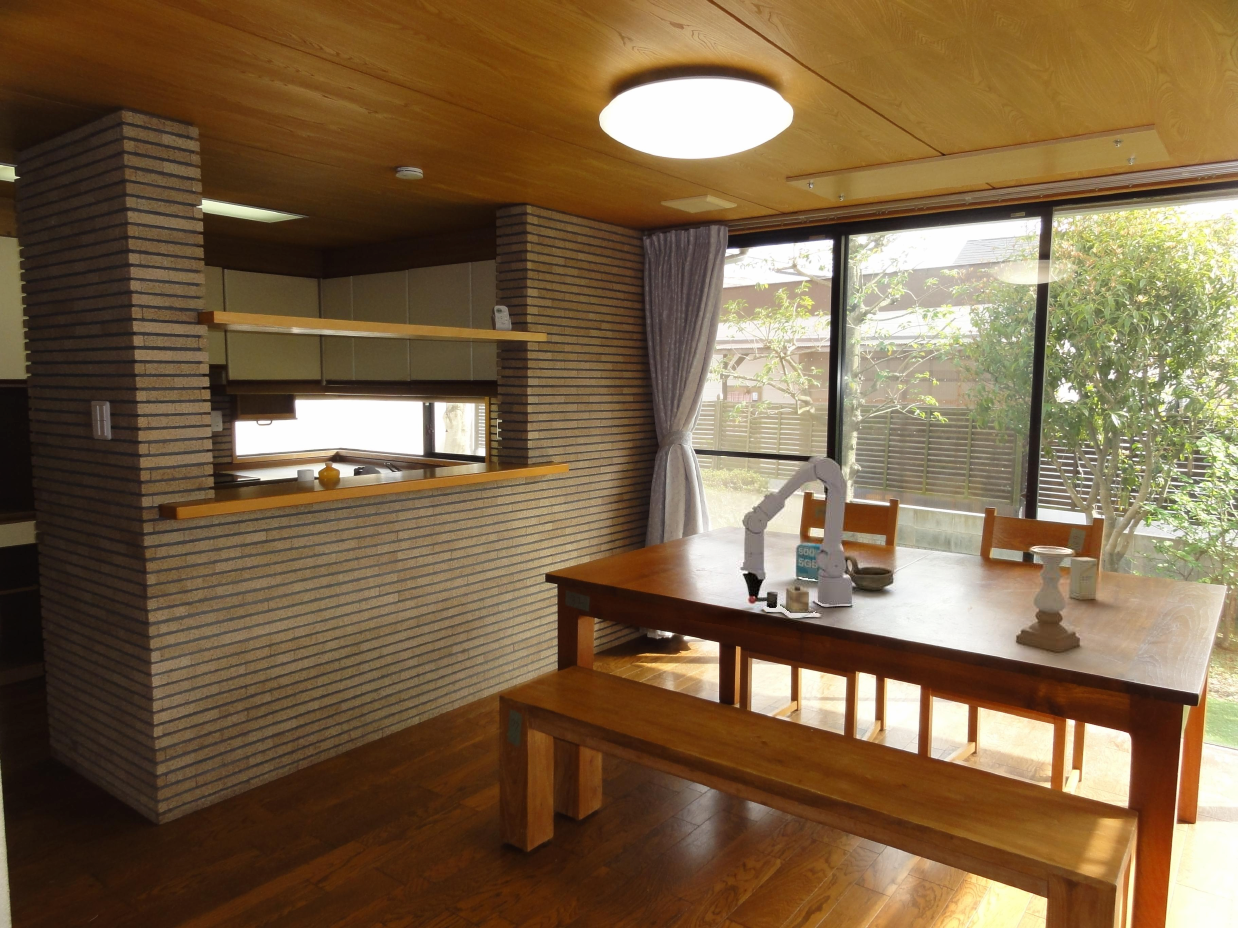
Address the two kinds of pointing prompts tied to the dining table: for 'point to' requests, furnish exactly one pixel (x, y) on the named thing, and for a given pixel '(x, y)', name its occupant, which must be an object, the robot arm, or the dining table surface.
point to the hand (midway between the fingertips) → (753, 597)
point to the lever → (766, 599)
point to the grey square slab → (798, 610)
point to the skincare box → (1083, 578)
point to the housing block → (797, 598)
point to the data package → (807, 560)
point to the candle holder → (1049, 605)
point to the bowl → (868, 575)
